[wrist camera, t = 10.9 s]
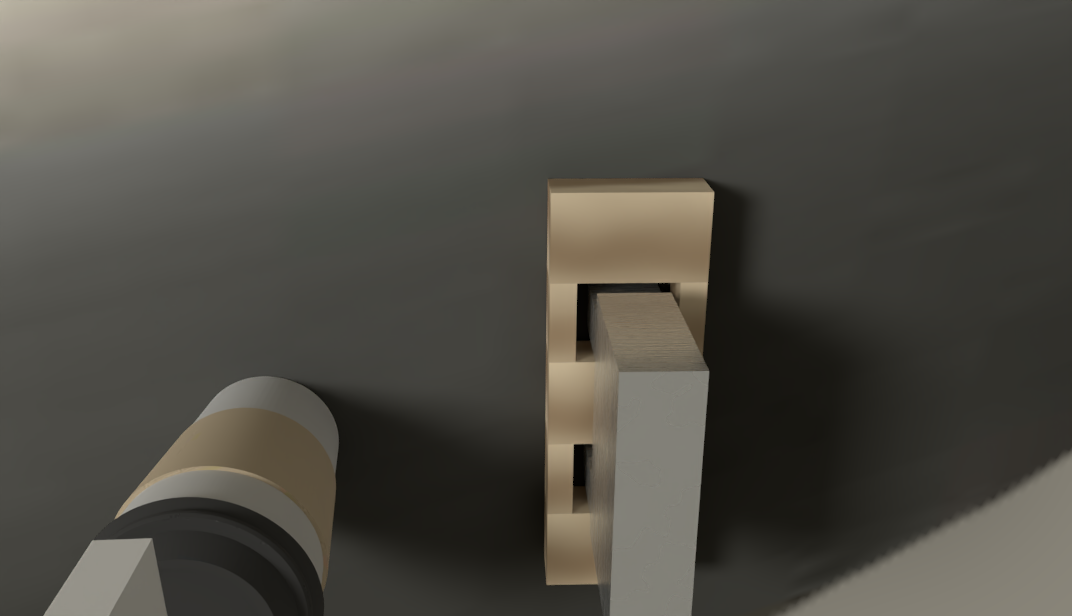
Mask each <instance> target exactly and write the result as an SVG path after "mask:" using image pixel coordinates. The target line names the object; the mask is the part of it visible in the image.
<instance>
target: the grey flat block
mask: <svg viewBox="0 0 1072 616" xmlns="http://www.w3.org/2000/svg"><path fill="white" fill-rule="evenodd" d="M587 328H588V333H589V337H590V341H591V345H592V349H593V354H594V358H595V374H594V408H593V442H592V444H584V453H583V476H584V482H585V488H586V494H587V500H588V506H589V512H590V537H591V543H592V549H593V556H594V562H595V568H596V574H597V580H598V587H599V593H600V599H601V605H602V611H603V616H691V610H692V596H693V583H694V570H695V556H696V543H697V529H698V516H699V503H700V489H701V476H702V462H703V449H704V435H705V422H706V409H707V395H708V382H709V369H708V367H707V365H706V363H705V361H704V359H703V357H702V355H701V353H700V351H699V349H698V347H697V345H696V342H695V340H694V338H693V336H692V334H691V332H690V330H689V328H688V326H687V324H686V322H685V320H684V318H683V316H682V313H681V311H680V309H679V307H678V305H677V303H676V301H675V299H674V297H673V295H672V293H661V291H660V288H659V286H658V284H657V283H588V297H587Z"/></svg>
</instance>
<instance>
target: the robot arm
mask: <svg viewBox="0 0 1072 616" xmlns="http://www.w3.org/2000/svg"><path fill="white" fill-rule="evenodd" d="M44 616H167V611H166V606H165V601H164V596H163V591H162V586H161V581H160V576H159V570H158V565H157V560H156V555H155V550H154V545H153V540H152V538H143V539H116V540H92V542H91V543H90V545H89V547H88V548H87V550H86V551H85V553H84V554H83V556H82V557H81V559H80V560H79V562H78V563H77V565H76V567H75V568H74V570H73V571H72V573H71V574H70V576H69V577H68V579H67V580H66V582H65V583H64V585H63V587H62V588H61V590H60V591H59V593H58V594H57V596H56V597H55V599H54V600H53V602H52V603H51V605H50V607H49V608H48V610H47V611H46V613H45V614H44Z"/></svg>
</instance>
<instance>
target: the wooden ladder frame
mask: <svg viewBox="0 0 1072 616" xmlns="http://www.w3.org/2000/svg"><path fill="white" fill-rule="evenodd" d="M713 205H714V191H713V190H712V189H711V187H710V186H709V185H708V184H707V183H706V181H705V180H704V179H703V178H615V179H548V216H547V315H546V413H545V512H544V560H545V572H546V584H547V585H573V584H598V580H597V574H596V568H595V562H594V556H593V549H592V543H591V537H590V512H589V506H588V500H587V494H586V488H585V486H573V456H574V444H592V442H593V408H594V374H595V358H594V354H593V349H592V345H591V341H576V318H577V284H588V283H670V293H672V295H673V297H674V299H675V301H676V303H677V305H678V307H679V309H680V311H681V313H682V316H683V318H684V320H685V322H686V324H687V326H688V328H689V330H690V332H691V334H692V336H693V338H694V340H695V342H696V345H697V347H698V349H699V351H700V353H701V355H702V357H703V345H704V331H705V317H706V303H707V289H708V275H709V261H710V247H711V233H712V219H713Z"/></svg>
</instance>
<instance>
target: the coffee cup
mask: <svg viewBox="0 0 1072 616" xmlns="http://www.w3.org/2000/svg"><path fill="white" fill-rule="evenodd" d="M338 448H339V435H338V429H337V426H336V422H335V420H334V418H333V415H332V414H331V412H330V410H329V409H328V407H327V406H326V405H325V403H324V402H323V401H322V400H321V399H320V398H319V397H318V396H317V395H316V394H315V393H313V392H312V391H311V390H309V389H308V388H306V387H304V386H303V385H300V384H298V383H296V382H294V381H291V380H288V379H284V378H279V377H271V376H260V377H252V378H247V379H244V380H241V381H238V382H236V383H233V384H231V385H230V386H228V387H226V388H225V389H223V390H222V391H221V392H220V393H218V394H217V395H216V396H215V397H214V399H213V400H212V401H211V402H210V403H209V405H208V406H207V407H206V408H205V410H204V411H203V412H202V413H201V415H200V416H199V417H198V419H197V420H196V421H195V422H194V424H193V425H191V426H190V427H189V428H188V429H187V430H186V431H185V432H184V433H183V434H182V435H181V436H180V437H179V438H178V440H177V441H176V442H175V443H174V444H173V446H172V447H171V448H170V449H169V450H168V452H167V453H166V454H165V455H164V456H163V458H162V459H161V460H160V461H159V462H158V463H157V465H156V466H155V467H154V468H153V469H152V471H151V472H150V473H149V474H148V475H147V477H146V478H145V479H144V480H143V481H142V483H141V484H140V485H139V486H138V487H137V489H136V490H135V491H134V492H133V493H132V495H131V496H130V497H129V498H128V499H127V501H126V502H125V503H124V504H123V506H122V507H121V509H120V510H119V512H118V514H117V515H116V517H115V520H113V521H112V522H111V523H109V524H108V525H107V526H106V527H105V528H104V529H103V530H102V531H101V532H100V533H99V534H98V535H97V536H96V537H95V539H94V540H116V539H143V538H152V540H153V545H154V550H155V555H156V560H157V565H158V570H159V576H160V581H161V586H162V591H163V596H164V601H165V606H166V611H167V616H323V614H324V598H323V590H324V588H325V584H326V580H327V574H328V565H329V555H330V545H331V535H332V525H333V515H334V505H335V496H336V479H335V472H336V464H337V456H338Z"/></svg>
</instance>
